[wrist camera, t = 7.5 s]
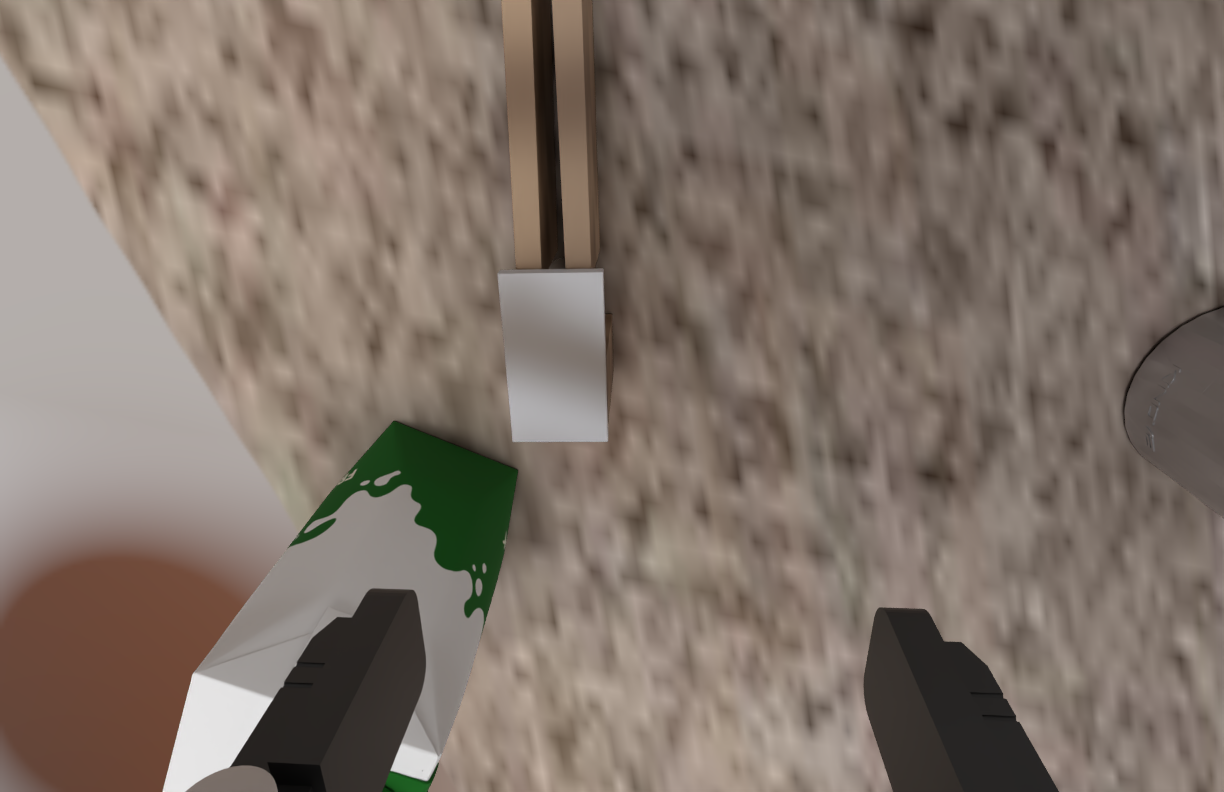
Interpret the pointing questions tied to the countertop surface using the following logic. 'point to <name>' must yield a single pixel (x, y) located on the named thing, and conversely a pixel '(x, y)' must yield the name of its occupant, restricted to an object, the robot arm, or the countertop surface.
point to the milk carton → (336, 584)
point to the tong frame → (564, 273)
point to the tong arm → (531, 131)
